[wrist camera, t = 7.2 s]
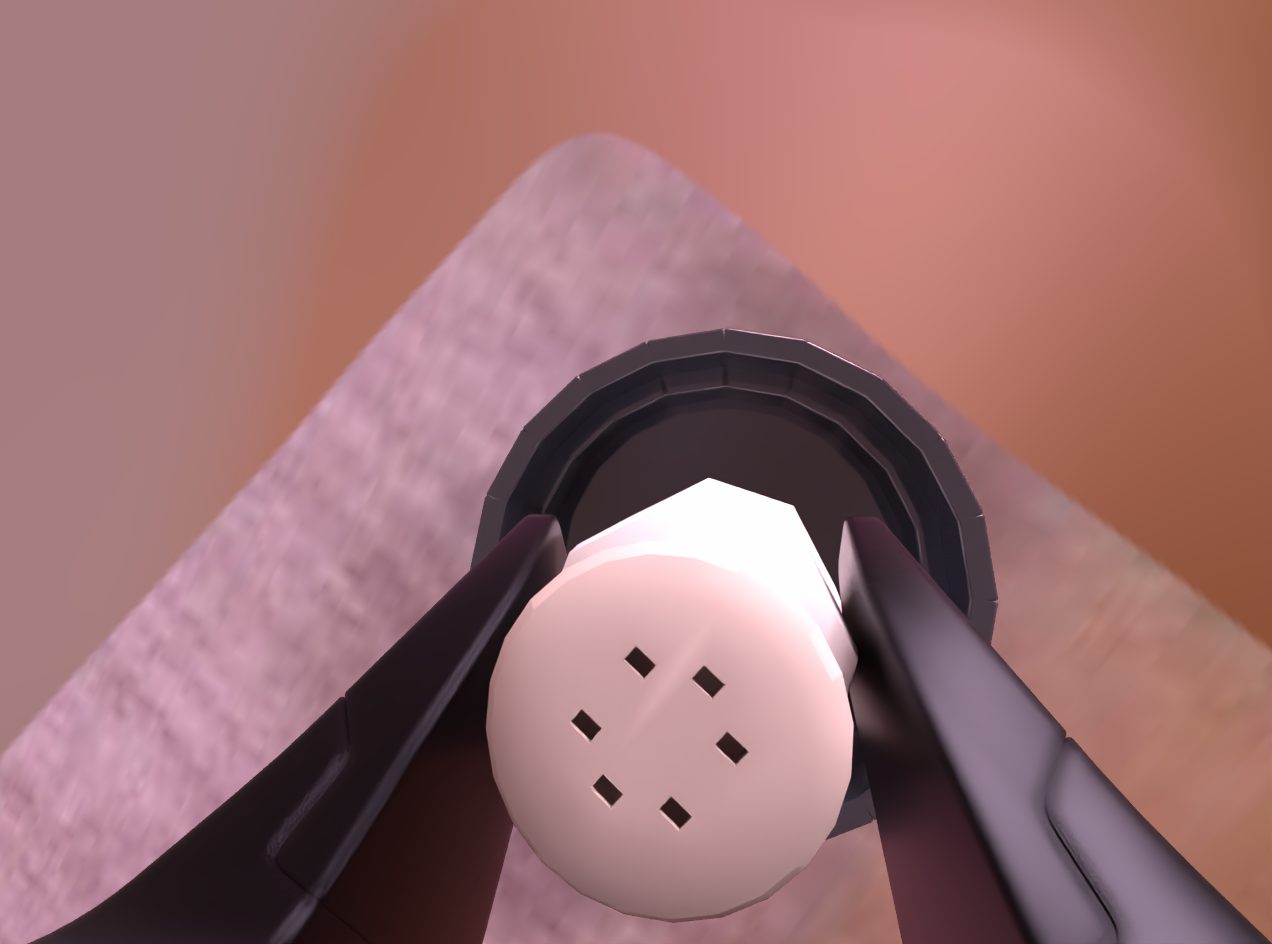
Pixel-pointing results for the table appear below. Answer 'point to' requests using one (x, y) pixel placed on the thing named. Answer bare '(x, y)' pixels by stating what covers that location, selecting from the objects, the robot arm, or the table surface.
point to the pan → (751, 462)
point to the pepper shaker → (679, 708)
